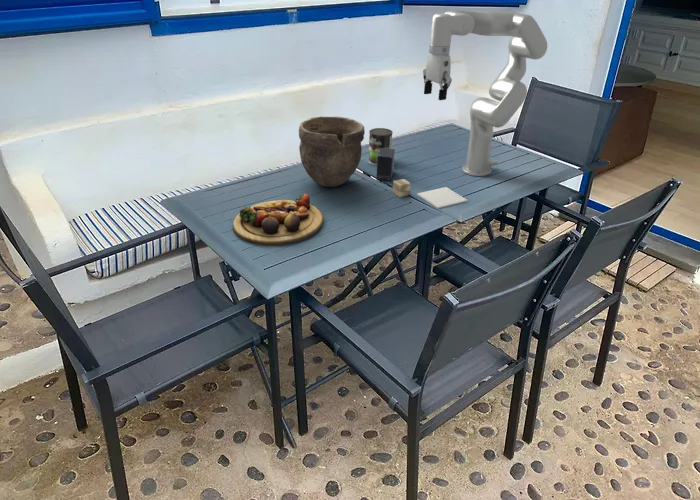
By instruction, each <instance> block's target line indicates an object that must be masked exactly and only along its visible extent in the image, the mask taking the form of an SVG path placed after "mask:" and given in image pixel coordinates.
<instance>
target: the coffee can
mask: <svg viewBox="0 0 700 500" xmlns="http://www.w3.org/2000/svg"><path fill="white" fill-rule="evenodd" d="M368 133H369V140H368V141H369V143H368V146H369V147H368V163H369V164H371V165H373V166H377V156H378V154H379V152H380V150H381V148H388V149H393V147H392V145H393V133H394V132H393V131H392V130H391V129H389V128H384V127H376V128H371V129H370V130H369V131H368Z"/></svg>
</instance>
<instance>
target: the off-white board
mask: <svg viewBox="0 0 700 500" xmlns="http://www.w3.org/2000/svg"><path fill="white" fill-rule="evenodd" d="M416 195H417V196H418V197H419V198H421V199H423V200H424V201H426V202H427V203H428V204H430V205H431V206H433V207H435V208H436V209H442V208H446V207H451V206H455V205H459V204H463V203H466V202H468V199H466V198H465V197H464V196H461V195H460V194H458V193H457V192H455V191H453V190H451V189H450V188H448V187H447V186H445V187H440V188H436V189H432V190H427V191H426V190H425V191H422V192H418V193H416Z"/></svg>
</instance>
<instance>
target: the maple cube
mask: <svg viewBox="0 0 700 500" xmlns="http://www.w3.org/2000/svg"><path fill="white" fill-rule="evenodd" d="M392 193H393V194H394V195H396V196H397V197H398V198H403V197H406V196H409V195H411V182H409V181H408V180H407V179H404V178H402V179H396V180H393V181H392Z"/></svg>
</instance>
